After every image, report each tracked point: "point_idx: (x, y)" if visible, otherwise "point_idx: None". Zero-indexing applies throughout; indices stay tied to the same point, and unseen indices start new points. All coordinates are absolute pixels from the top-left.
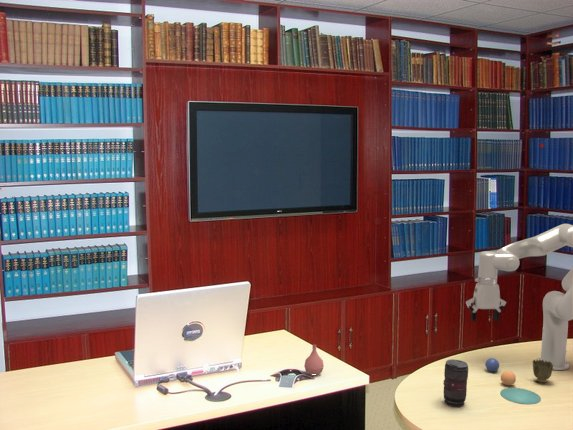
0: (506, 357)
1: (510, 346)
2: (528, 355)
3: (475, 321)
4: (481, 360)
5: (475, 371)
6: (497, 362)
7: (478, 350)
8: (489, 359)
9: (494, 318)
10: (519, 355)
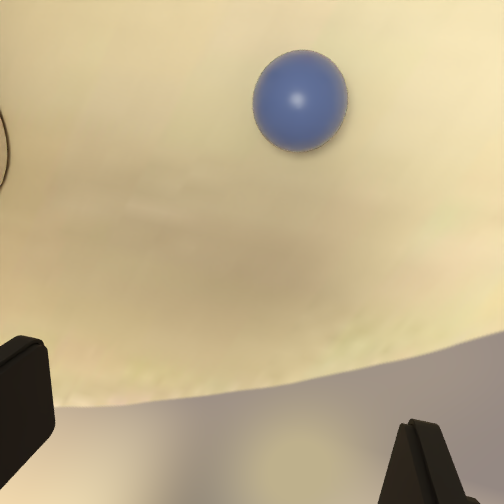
0: (117, 279)
1: None
2: (6, 276)
3: (425, 425)
4: (266, 274)
5: (410, 122)
6: (277, 62)
7: (207, 391)
8: (323, 98)
9: (32, 421)
10: (46, 286)
